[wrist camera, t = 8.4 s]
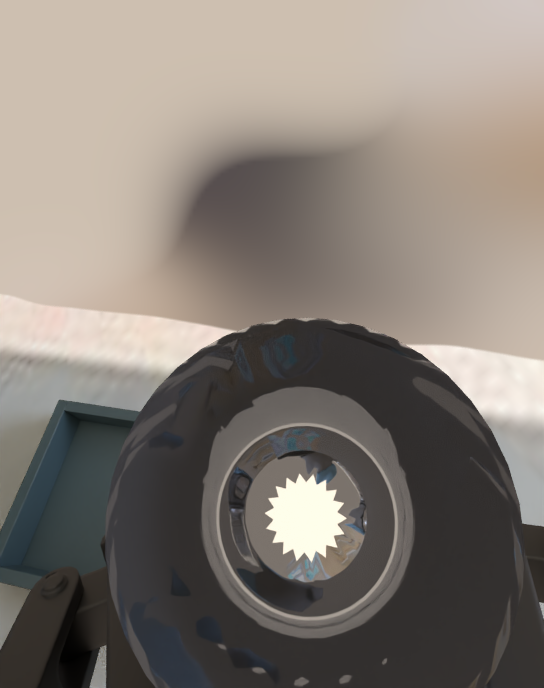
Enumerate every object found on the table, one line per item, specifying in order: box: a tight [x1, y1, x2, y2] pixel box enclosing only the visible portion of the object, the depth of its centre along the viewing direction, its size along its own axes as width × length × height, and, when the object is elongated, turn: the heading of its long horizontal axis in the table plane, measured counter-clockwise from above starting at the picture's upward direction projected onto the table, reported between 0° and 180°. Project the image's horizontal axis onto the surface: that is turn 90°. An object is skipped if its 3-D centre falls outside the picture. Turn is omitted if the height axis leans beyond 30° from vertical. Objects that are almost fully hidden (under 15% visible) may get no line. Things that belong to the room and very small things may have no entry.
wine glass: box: [105, 318, 525, 688], centre depth 14 cm, size 8×8×15 cm
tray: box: [0, 400, 140, 590], centre depth 27 cm, size 27×12×3 cm, turn 80°
